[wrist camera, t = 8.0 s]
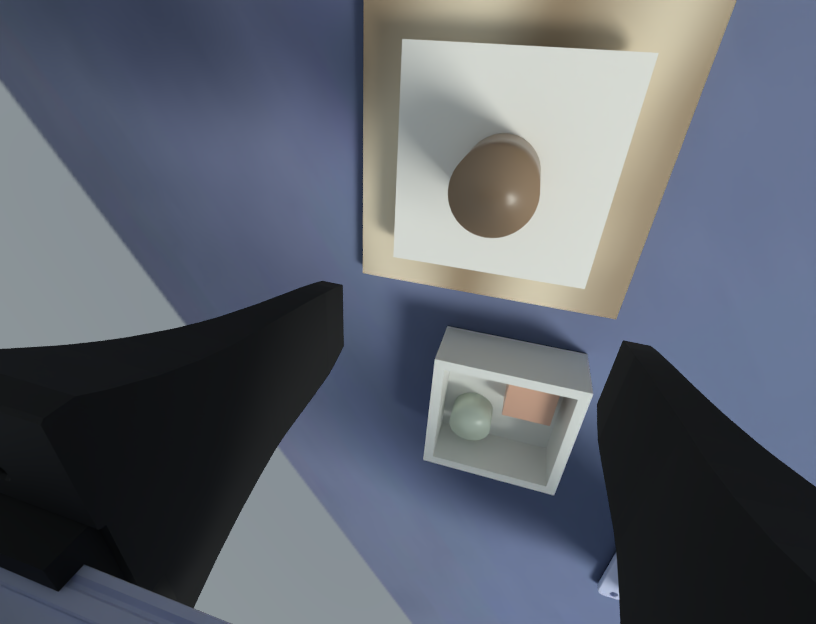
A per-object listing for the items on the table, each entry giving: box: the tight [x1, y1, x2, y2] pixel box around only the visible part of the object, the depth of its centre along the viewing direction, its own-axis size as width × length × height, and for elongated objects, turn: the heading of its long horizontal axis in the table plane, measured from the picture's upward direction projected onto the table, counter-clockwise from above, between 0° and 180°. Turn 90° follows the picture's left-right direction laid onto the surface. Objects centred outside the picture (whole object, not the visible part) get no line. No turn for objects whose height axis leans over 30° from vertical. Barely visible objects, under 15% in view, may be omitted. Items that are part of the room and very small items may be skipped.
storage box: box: [423, 326, 593, 495], centre depth 22 cm, size 7×7×3 cm
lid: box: [393, 39, 659, 289], centre depth 15 cm, size 8×8×5 cm
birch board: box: [363, 0, 736, 319], centre depth 17 cm, size 12×12×1 cm
